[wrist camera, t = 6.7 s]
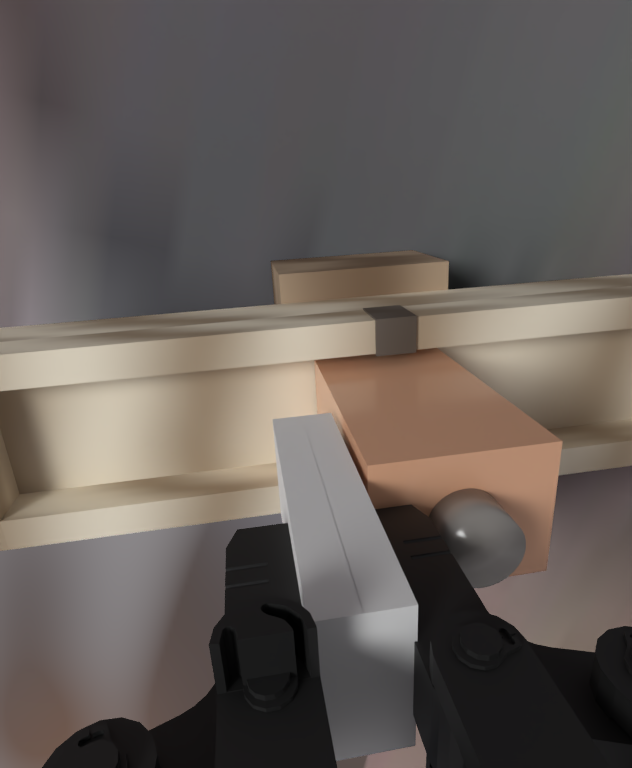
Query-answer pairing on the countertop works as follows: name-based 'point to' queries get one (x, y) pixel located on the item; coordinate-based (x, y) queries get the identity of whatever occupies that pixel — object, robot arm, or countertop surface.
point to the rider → (448, 455)
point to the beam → (281, 387)
